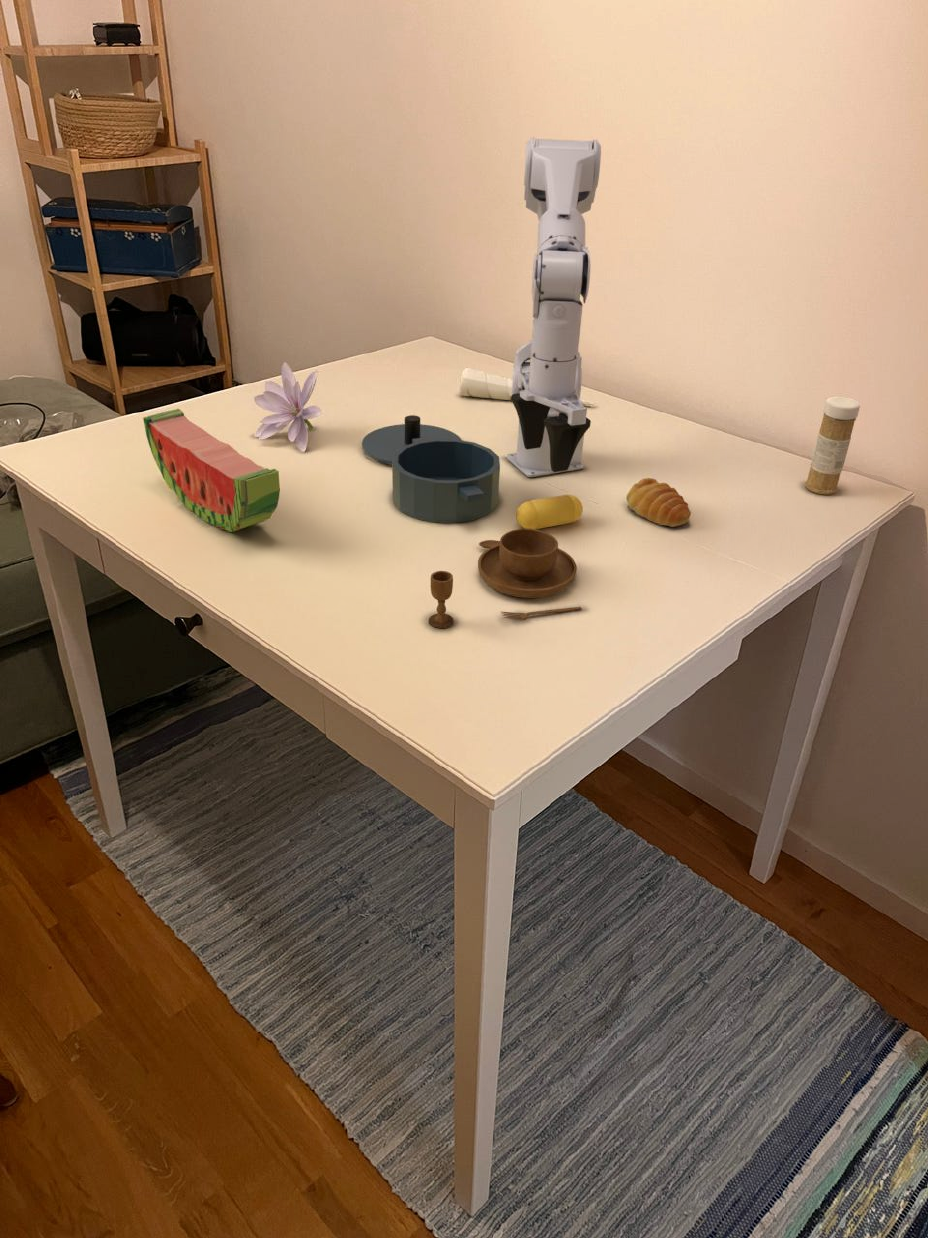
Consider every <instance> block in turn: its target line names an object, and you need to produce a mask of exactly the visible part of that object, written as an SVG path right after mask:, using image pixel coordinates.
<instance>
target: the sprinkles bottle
mask: <svg viewBox="0 0 928 1238" xmlns="http://www.w3.org/2000/svg"><path fill="white" fill-rule="evenodd" d="M860 408H861V404H860V402H859V401H858V400H856V399H854V398H851V397H846V396H839V395H838V396H836V395H835V396H831V397H828V398H827V399H826V400H825V403H824V406H823V411H822V412H823V416H822V421H821V423H820V428H819V432H818V435H817V438H816V443H815V446H814V449H813V454H812V456H811V457H812V458H811V461H810V467H809V472H808V476H807V480H806V481H805V487H806V489H807V490H809V491H811V492H812V493H815V494H819V495H833V494H835V493H836V492H837V491H838V486H839V485H838V484H839V481H840V478H841V473H842V472H843V469H844V466H845V461H846V458H847V454H848V450H849V447H850V443H851V440H852V433H853V429H854V425H855V422H856V420H857V418H858V415H859V412H860Z"/></svg>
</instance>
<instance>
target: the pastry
mask: <svg viewBox="0 0 928 1238" xmlns="http://www.w3.org/2000/svg"><path fill="white" fill-rule="evenodd" d="M625 499H626V501H627V502H626V503H627V504H628V506H629V508H630V510H631V511H632V510H633V511H634V512H635V513H636V515H638V516H640V517H642V518H645V519H647V520H648V521H649V522H653V524H657V525H660V526H669V527H672V528H674V527H679V526H681V525H685V524H686V523H688V521H689V519H690V518H691V515H692V511H691V510H690V508H689V504H688V502H686V501H685V499H684V496H682V495H680V494H679V492H678V491H677V489H676V488H675V487H671V486H670V485H669V484H668V483H667V482H659V481H657V479H655V478H653V477H652V478H651V477H647V478H642V479H640V480H639V481H638V482H636V483H634V485H632V487H631V488H630V490H629V491H628V493H627V494H626V497H625Z"/></svg>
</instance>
